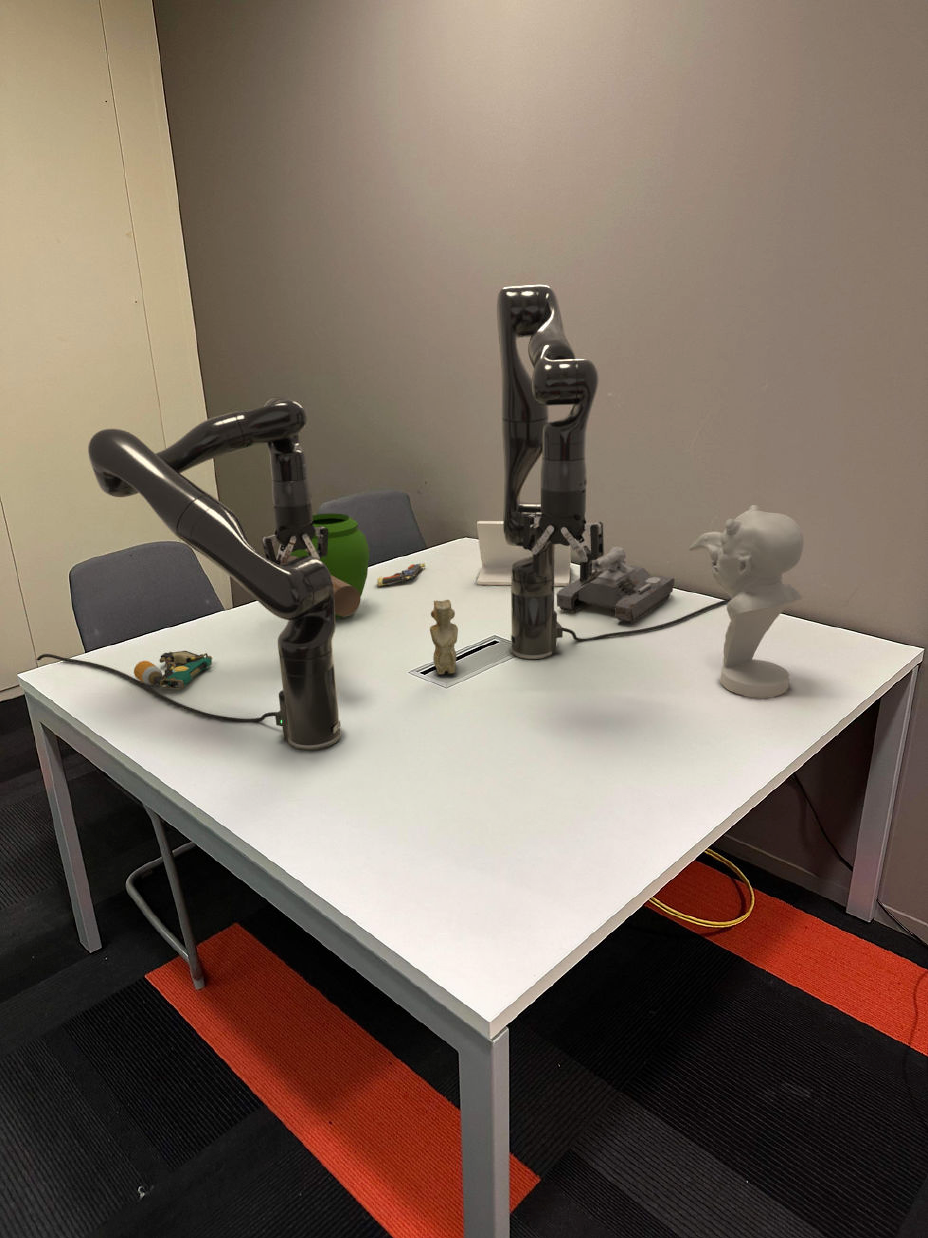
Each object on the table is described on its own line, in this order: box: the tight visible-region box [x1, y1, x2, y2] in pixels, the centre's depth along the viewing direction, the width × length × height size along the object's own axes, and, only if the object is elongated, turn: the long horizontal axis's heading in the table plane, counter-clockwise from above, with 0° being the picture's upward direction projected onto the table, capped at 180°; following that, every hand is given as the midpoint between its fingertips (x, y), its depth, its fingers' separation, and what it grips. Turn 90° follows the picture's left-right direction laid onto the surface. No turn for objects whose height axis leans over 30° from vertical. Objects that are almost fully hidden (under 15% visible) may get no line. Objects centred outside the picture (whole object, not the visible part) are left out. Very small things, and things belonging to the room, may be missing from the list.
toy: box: [556, 546, 676, 624], centre depth 212 cm, size 25×20×15 cm
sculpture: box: [429, 599, 459, 675], centre depth 177 cm, size 6×7×15 cm
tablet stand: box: [476, 520, 572, 587], centre depth 236 cm, size 18×25×17 cm
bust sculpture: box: [688, 504, 804, 699], centre depth 167 cm, size 16×24×35 cm, turn 28°
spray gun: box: [133, 650, 213, 690], centre depth 180 cm, size 4×17×15 cm
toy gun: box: [376, 562, 426, 587], centre depth 240 cm, size 3×19×10 cm
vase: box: [290, 512, 370, 620], centre depth 209 cm, size 20×20×24 cm
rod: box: [287, 556, 362, 617], centre depth 169 cm, size 26×6×6 cm, turn 34°
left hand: (299, 580), depth 176 cm, fingers closed on rod, 6 cm apart
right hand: (562, 577), depth 147 cm, fingers open, 8 cm apart
